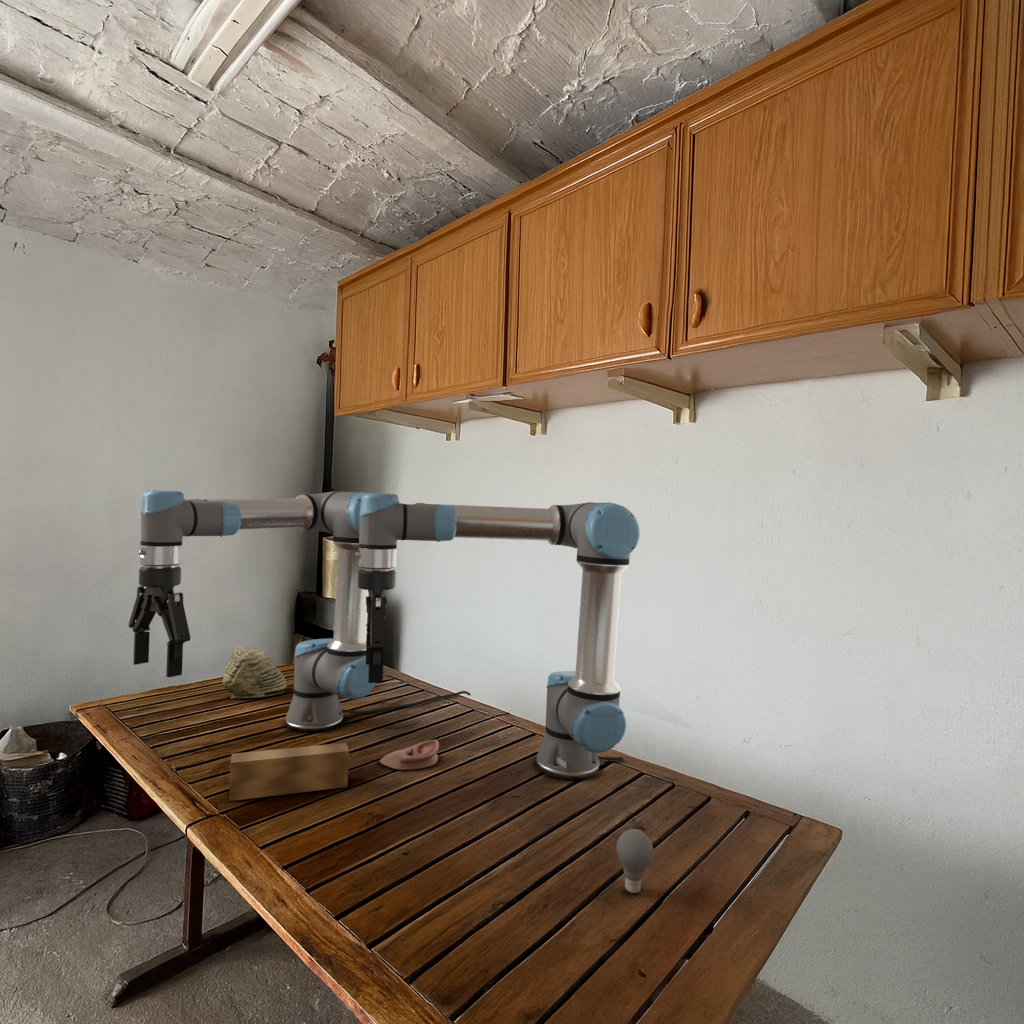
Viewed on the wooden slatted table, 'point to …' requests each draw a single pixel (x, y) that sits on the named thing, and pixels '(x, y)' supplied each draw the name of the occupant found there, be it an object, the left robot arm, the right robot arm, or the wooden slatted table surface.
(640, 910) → the wooden slatted table surface
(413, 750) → the anatomical model
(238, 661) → the fossil
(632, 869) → the light bulb
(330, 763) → the bar
